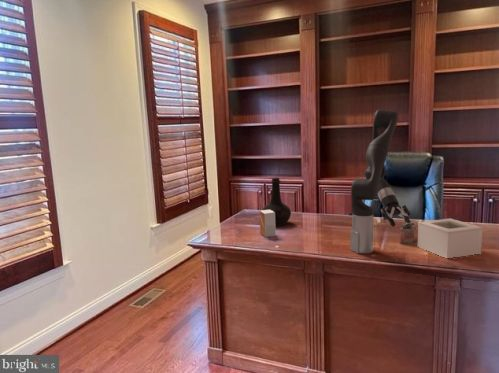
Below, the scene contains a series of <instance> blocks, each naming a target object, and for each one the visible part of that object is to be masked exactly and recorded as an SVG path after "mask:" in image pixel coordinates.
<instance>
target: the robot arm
mask: <svg viewBox="0 0 499 373" xmlns="http://www.w3.org/2000/svg"><path fill="white" fill-rule="evenodd" d="M398 120H399V113H398V111H394V110H387V109H381V108H380V109H379V108H378V109H377V110H376V111H375V113H374V115H373V120H372V121H373V123H372V141H371V142H369V144H368V147H367V149H366V153H365V161H366V164H367V166H368V167H369V168H366V169H365V171H364V178H365V179H363V178H362V179H361V178H355V179H353V180H352V182H351V186H350V190H351V191H350V195H351V211H352V213H351V214H352V215H351V216H352V218H351V220H352V222H351V224H352V226H351V227H352V228H351V230H350V231H349V232H350V236H349V237H350V238H349V239H350V240H349V241H350V242H349V243H350V244H349V248H350V251H352V252H354V253H356V254H371V253H373V252H374V213H375V212H374V208H373V207H371V206H369V205H368V204H366V203H365V202H364V201H374V200H375V199H376V197H377V195H378V198H379V200H380V203H381V205H382V206H383V207H382V208H381V209H380V213H381V216H382V217H383V218H382V219H383V220H384V221H388V223H389V225H390V226H391V227H393V228H395V226H396V222H395V220H394V219H393V217H396V216H399V217H400V218H402V219H404V222H405V223H412V221H411V219H410V218H409V217H410V216H411V212H410V210H409V209H408V207H407V206H406V205H402V206H400V204H399V200H398V199H397V197H396V195H395V193H394V191H393V190H392V188H391V187H390V185H389V183H388V181H387V180H385V179H384V178H385V177H386V169H385V164H386V163H385V162H386V160H387V156H388V152H389V150H390V149H389V148H390V145H391V141H392V138H393V135H394V132H395V129H396V127H397V123H398ZM380 129H383V130H384V132H383V133H382V134H381V132H380ZM363 200H364V201H363Z"/></svg>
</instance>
